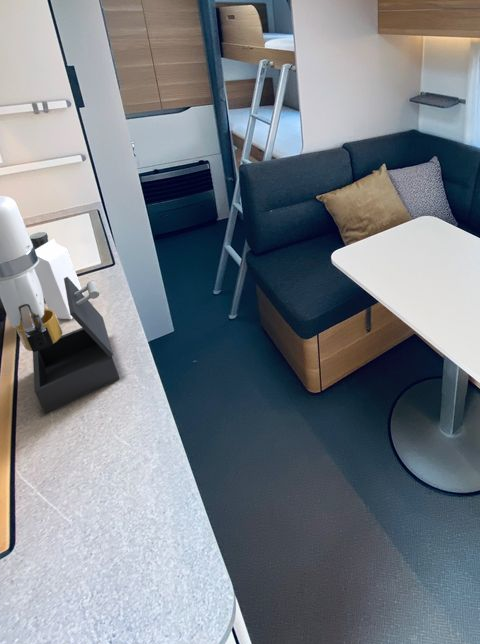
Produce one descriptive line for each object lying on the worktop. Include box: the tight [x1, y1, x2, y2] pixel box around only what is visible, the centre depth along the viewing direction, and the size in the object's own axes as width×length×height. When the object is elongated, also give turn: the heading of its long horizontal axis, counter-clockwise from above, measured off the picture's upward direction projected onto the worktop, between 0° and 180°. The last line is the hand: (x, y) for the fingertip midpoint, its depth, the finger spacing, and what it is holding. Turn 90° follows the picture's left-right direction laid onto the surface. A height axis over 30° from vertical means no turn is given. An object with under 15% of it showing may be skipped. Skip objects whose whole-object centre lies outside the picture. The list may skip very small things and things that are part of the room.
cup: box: [15, 308, 63, 352], centre depth 81 cm, size 6×6×5 cm
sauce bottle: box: [29, 231, 50, 249], centre depth 119 cm, size 6×6×20 cm
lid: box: [64, 277, 114, 357], centre depth 94 cm, size 15×16×5 cm
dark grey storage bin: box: [32, 327, 120, 415], centre depth 94 cm, size 14×16×6 cm
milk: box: [34, 238, 85, 320], centre depth 111 cm, size 6×6×22 cm
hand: (42, 336), depth 82 cm, fingers closed on cup, 6 cm apart
